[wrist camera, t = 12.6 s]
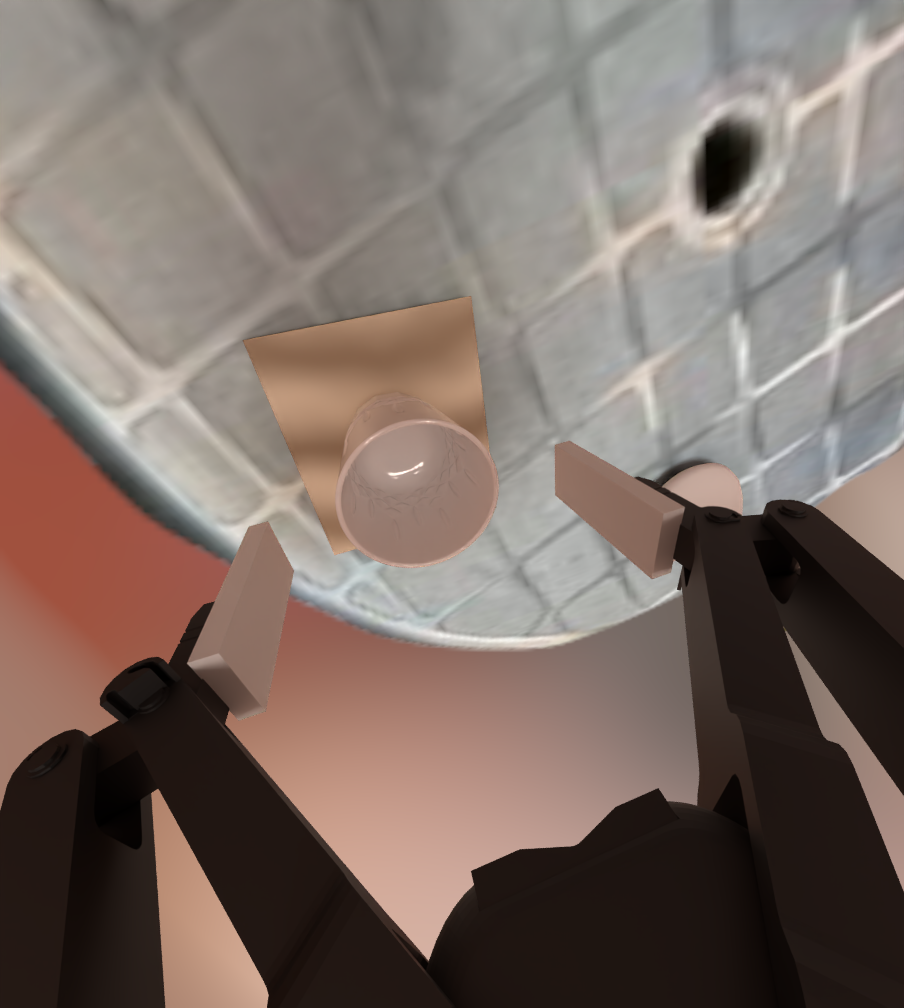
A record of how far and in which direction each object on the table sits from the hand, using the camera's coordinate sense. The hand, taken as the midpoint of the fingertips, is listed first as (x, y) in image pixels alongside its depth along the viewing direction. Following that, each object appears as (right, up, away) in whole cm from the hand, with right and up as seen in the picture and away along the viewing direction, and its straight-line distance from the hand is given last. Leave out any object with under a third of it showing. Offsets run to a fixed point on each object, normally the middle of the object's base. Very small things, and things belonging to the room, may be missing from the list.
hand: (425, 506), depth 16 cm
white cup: (-3, +5, +10) cm, 11 cm away
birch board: (-3, +5, +10) cm, 12 cm away
